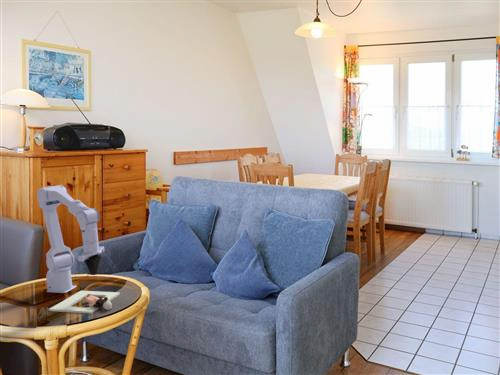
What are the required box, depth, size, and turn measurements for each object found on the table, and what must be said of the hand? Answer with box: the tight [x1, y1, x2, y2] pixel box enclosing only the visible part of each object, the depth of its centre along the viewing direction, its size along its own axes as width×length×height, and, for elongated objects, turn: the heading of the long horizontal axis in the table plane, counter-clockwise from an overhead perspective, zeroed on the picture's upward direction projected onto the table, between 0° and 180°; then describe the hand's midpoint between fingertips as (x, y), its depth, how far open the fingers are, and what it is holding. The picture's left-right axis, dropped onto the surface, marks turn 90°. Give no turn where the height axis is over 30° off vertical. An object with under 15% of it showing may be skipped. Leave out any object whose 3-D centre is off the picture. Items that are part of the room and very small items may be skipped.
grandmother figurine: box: [81, 293, 113, 311], centre depth 184 cm, size 8×4×13 cm
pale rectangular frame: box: [48, 290, 121, 315], centre depth 191 cm, size 18×20×1 cm
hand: (93, 274), depth 192 cm, fingers closed
